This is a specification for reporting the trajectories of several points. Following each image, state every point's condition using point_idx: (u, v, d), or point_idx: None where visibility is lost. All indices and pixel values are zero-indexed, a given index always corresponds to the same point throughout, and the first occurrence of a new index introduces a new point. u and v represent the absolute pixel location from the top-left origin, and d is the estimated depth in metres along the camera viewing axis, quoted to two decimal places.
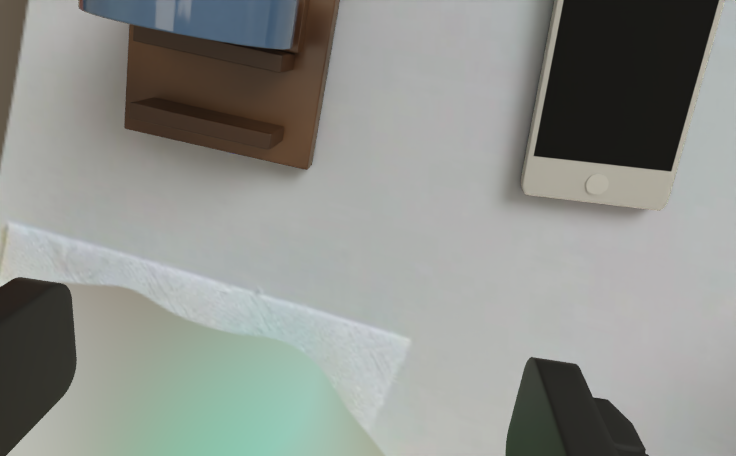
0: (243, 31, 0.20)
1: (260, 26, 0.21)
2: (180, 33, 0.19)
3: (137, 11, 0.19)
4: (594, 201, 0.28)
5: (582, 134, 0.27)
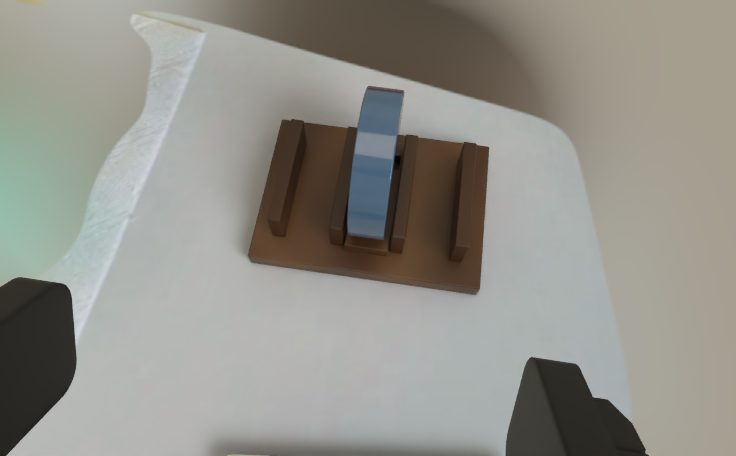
0: (359, 187, 0.28)
1: (363, 201, 0.28)
2: (355, 142, 0.27)
3: (369, 116, 0.28)
4: None
5: None
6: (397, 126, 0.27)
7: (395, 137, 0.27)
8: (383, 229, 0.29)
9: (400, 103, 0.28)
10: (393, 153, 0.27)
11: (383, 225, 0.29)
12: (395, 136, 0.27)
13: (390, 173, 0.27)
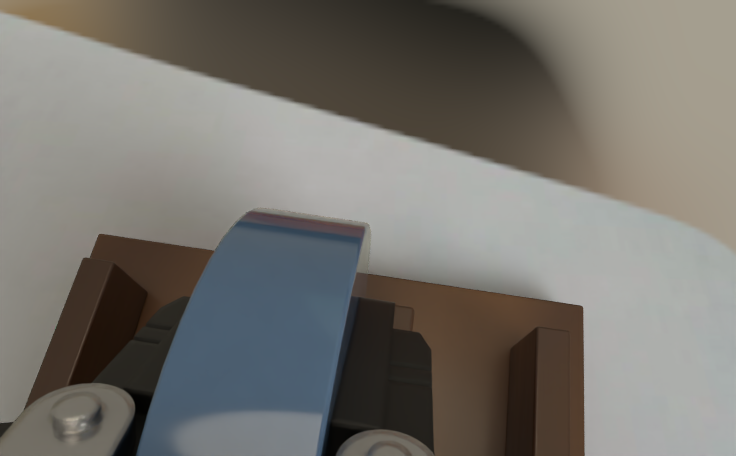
0: None
1: None
2: None
3: (191, 403, 0.06)
4: None
5: None
6: None
7: None
8: None
9: (338, 323, 0.07)
10: None
11: None
12: None
13: None
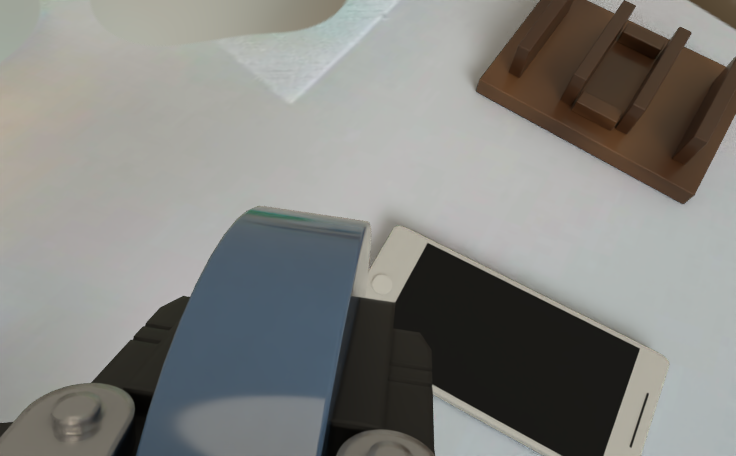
0: None
1: None
2: None
3: (191, 400, 0.06)
4: None
5: (432, 285, 0.29)
6: (316, 455, 0.06)
7: None
8: None
9: (339, 321, 0.07)
10: None
11: None
12: None
13: None
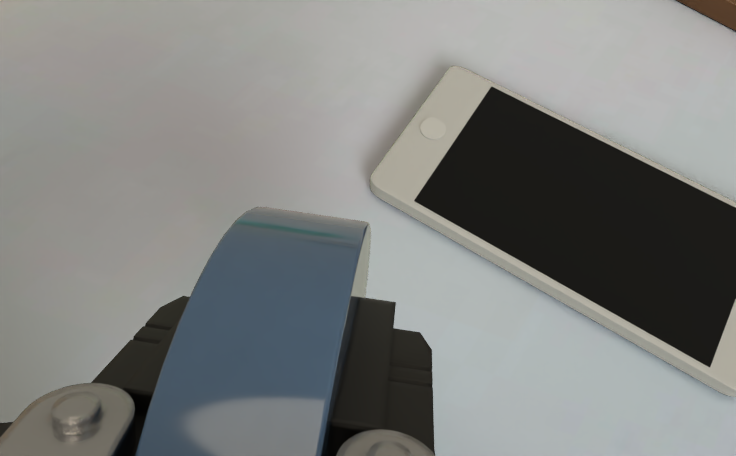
0: None
1: None
2: None
3: (191, 401, 0.06)
4: (413, 120, 0.23)
5: (497, 134, 0.23)
6: None
7: None
8: None
9: (338, 322, 0.07)
10: None
11: None
12: None
13: None
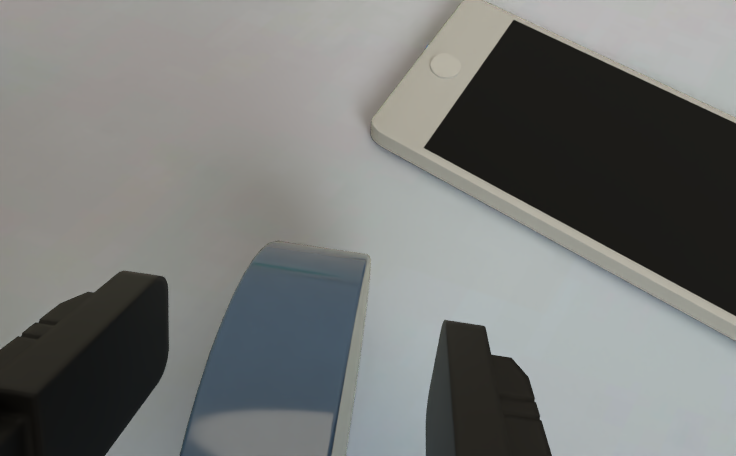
0: None
1: None
2: None
3: (223, 419, 0.08)
4: (421, 57, 0.20)
5: (521, 72, 0.19)
6: None
7: None
8: None
9: (343, 351, 0.08)
10: None
11: None
12: None
13: None
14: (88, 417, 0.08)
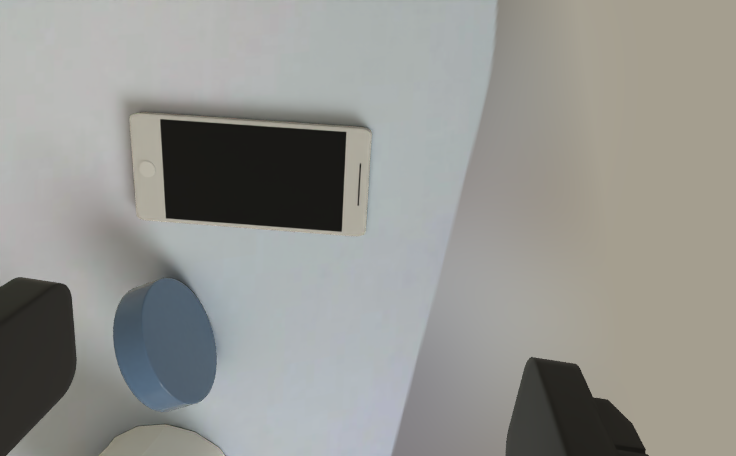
0: (143, 395, 0.33)
1: (154, 401, 0.33)
2: (119, 367, 0.33)
3: (120, 340, 0.33)
4: (134, 169, 0.36)
5: (182, 152, 0.36)
6: (143, 339, 0.32)
7: (144, 350, 0.32)
8: (188, 403, 0.35)
9: (141, 314, 0.33)
10: (149, 363, 0.32)
11: (184, 403, 0.34)
12: (144, 349, 0.32)
13: (156, 377, 0.33)
14: None
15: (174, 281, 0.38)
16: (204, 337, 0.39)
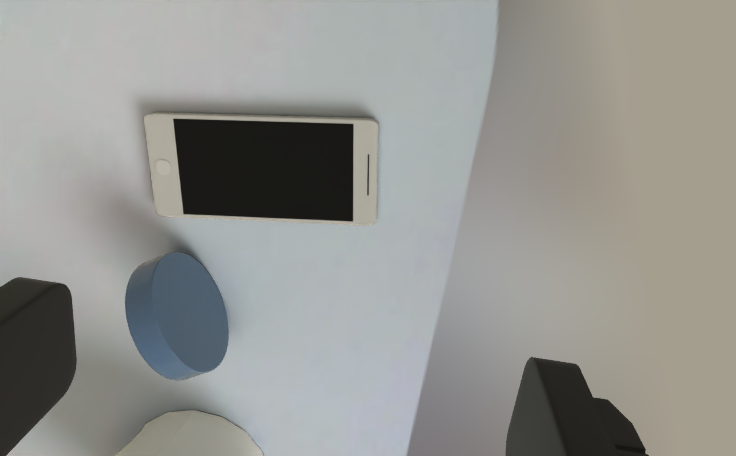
0: (143, 345, 0.34)
1: (152, 353, 0.34)
2: (126, 314, 0.34)
3: (131, 289, 0.35)
4: (151, 167, 0.38)
5: (195, 150, 0.37)
6: (151, 287, 0.34)
7: (150, 296, 0.34)
8: (186, 366, 0.35)
9: (155, 267, 0.35)
10: (152, 308, 0.34)
11: (182, 363, 0.34)
12: (150, 295, 0.34)
13: (157, 324, 0.33)
14: None
15: (196, 262, 0.40)
16: (217, 322, 0.40)
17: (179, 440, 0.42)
